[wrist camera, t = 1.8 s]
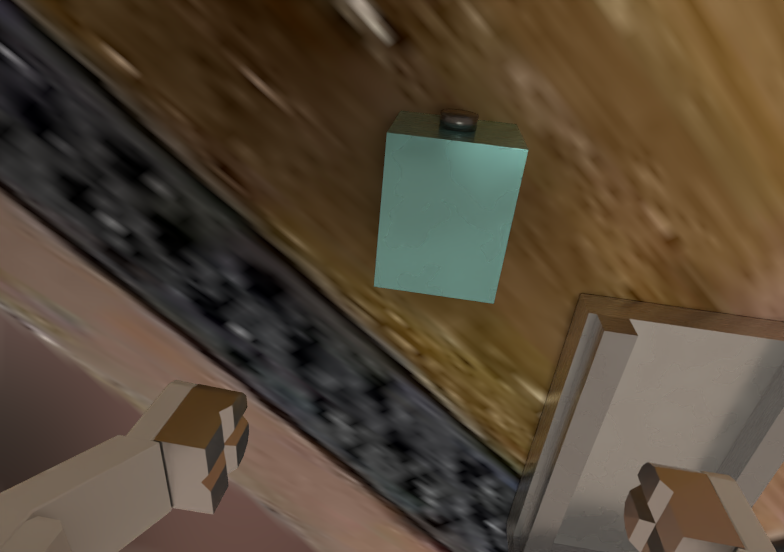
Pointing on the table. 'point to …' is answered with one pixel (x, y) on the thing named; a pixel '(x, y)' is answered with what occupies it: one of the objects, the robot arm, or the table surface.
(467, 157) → the block
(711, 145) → the table surface
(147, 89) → the table surface
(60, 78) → the table surface
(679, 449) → the guide channel
